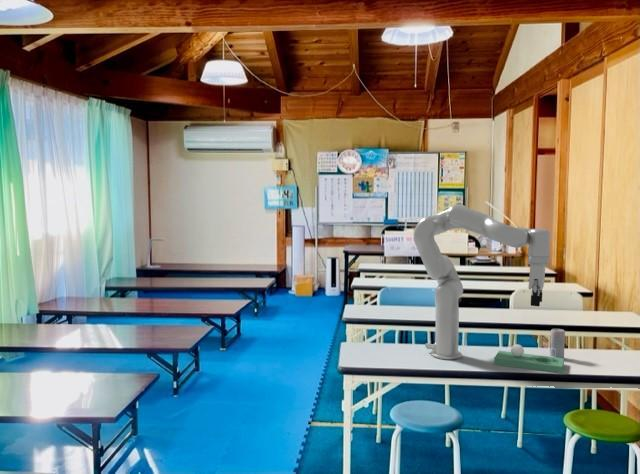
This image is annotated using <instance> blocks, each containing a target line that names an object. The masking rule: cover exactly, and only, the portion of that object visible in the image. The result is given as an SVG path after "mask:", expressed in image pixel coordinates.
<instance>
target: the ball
mask: <svg viewBox="0 0 640 474" xmlns="http://www.w3.org/2000/svg"><path fill="white" fill-rule="evenodd" d="M510 352H511V353H512V354H513V355H514V356H515V357H520V356H522V355H523V354H525V349H524V347H523V346H522V345H521V344H517V343H516V344H514V345H512V346H511V348H510Z"/></svg>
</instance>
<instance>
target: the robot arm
mask: <svg viewBox="0 0 640 474" xmlns="http://www.w3.org/2000/svg"><path fill="white" fill-rule="evenodd" d="M454 228H462V229H463V230H467V231H469V232H472V233H474V234H478V235H480V236H482V237H484V238H488V239H490V240H493V242H496V243H500V244H503V245H506V246H508V247H511V248H516V249H518V248H522V247H525V246H528V255H527V257H528V259H527V264H528V265H530V266H529V276H528V277H529V278H528V290H531V295H530V306H531V307H540V305H541V304H540V303H542V302H543V289H544V285H545V278H546V276H545V275H546V266H549V263H550V246H551V245H550V244H551V243H550V240H551V239H550V238H551V232H550V230H549V229H547V228H546V229H545V228H527V227H514V226H512V225H508V224H506V223H503V222H500V221H498V220H497V219H495V218H493V216H491V215H489V214H487V213H483V212H480V211H477V210H474V209H471V208H469V207H468V206H465V205H464V204H453V205H451V206H450V207H449V208H448V209H446V210H444V211H441V212H438V213H436V214H434V215H427V216H425V217H423V218H421V220H419V221H418V222H417V224H416V225H415V228H414V231H413V241H414V244H415V246H416V250H417V252H418V254H419V256H420V259H421V261H422V263H423V266H424V268H425V270H426V273H427V275H428V277H429V278H430V279H432V280H434V281H436V282H437V284H438V286H437V287H435V291H434V304H435V329H434V330H435V333H434V334H435V336H434V337H435V339H434V341H435V342H434V343H433V344H432V343H428V342H427V343H425V349H427V350H432V351H431V356H432V357H434V358H437V359H439V360H441V359H442V360H458V359H461V358H462V356H463V353H462V352H461V351H459V333H460V332H459V327H460V326H459V324H460V322H459V321H460V318H459V317H460V311H459V309H460V308H459V299H460V298H461V297H462V296H463V293H464V287H463V286H464V285H463V283H462V281H461V279H460V277H459V274H458V272H457V270H456V268H455V265H454V264H453V262H452V260H451V259H450V258H449V257H447V256H446V255H445V256H444V255H443V254H442V252H441V250H440V249H441V248H440V247H439V245H438V243H437V242H436V240H435V236H436V235H437V236H438V235H440V234H442V233H445V232H447V231H451V230H452V229H454Z"/></svg>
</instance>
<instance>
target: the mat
mask: <svg viewBox="0 0 640 474" xmlns="http://www.w3.org/2000/svg"><path fill="white" fill-rule="evenodd" d="M493 359H494V360H493V364H494V365H497V366H498V365H499V366H506V367H512V368H513V367H515V368H521V369H529V370H535V371H542V372H543V371H544V372H549V373H550V372H551V373H557V372H560V373H559V374H562V373H563V370H564V365H565V364H564V363H565V357H564V358H556V357H550V356H547V355H539V354H530V353H524V354H523V355H522V356H520V357H515V356H514V355H513V354H512V353H511V351H507V350H506V351H505V350H498V351H497V353H496V355H495V356H494V358H493Z"/></svg>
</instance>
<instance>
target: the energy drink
mask: <svg viewBox="0 0 640 474" xmlns="http://www.w3.org/2000/svg"><path fill="white" fill-rule="evenodd" d="M565 336H566V332H565V330H564V329H562V328H552V329H551V330H550V346H549V347H550V349H549V357H556V358H564V359H565V341H566V340H565V339H566V337H565Z"/></svg>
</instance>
